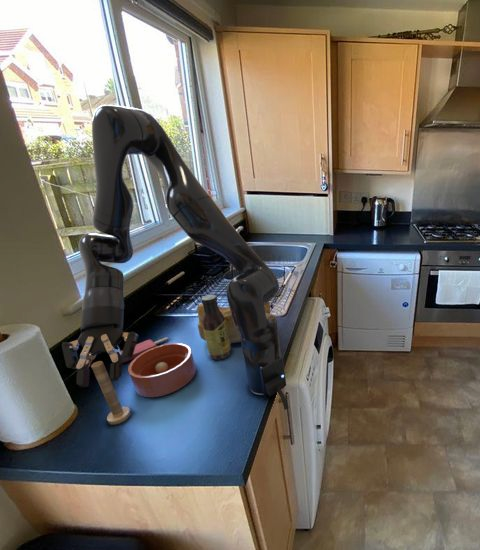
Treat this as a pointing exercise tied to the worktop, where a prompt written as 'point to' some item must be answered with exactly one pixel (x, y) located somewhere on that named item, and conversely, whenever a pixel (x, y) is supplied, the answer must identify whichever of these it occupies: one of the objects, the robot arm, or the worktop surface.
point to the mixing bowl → (168, 381)
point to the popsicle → (144, 347)
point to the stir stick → (110, 395)
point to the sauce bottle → (215, 329)
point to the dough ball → (161, 367)
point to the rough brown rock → (231, 327)
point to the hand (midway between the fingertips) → (99, 383)
